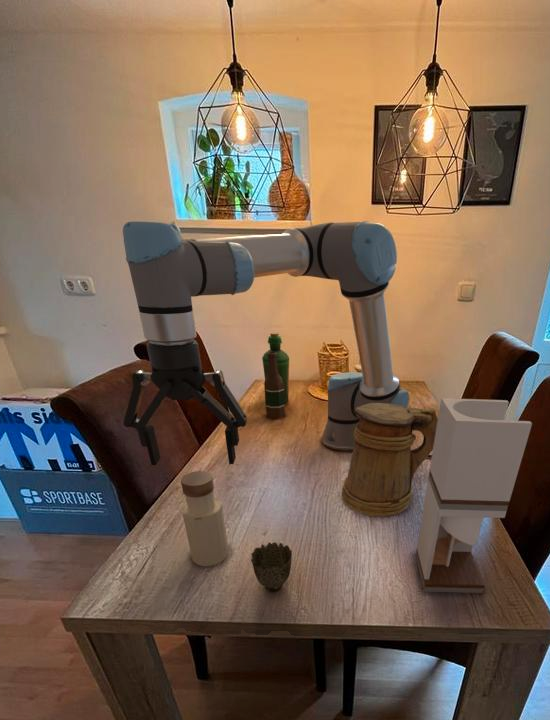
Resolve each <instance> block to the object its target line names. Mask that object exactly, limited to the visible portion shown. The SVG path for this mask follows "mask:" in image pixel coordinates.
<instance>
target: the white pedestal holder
mask: <svg viewBox="0 0 550 720" xmlns="http://www.w3.org/2000/svg"><path fill="white" fill-rule="evenodd" d="M509 403H510V402H509V401H508V400H506V399H504V400H503V399H482V398H481V399H480V398H479V399H478V398H451V397H450V398H449V397H448V398H447V397H441V398H440V403H439V408H438V414H437V415H438V416H437V418H438V421H437V427H436V434H435V440H434V446H433V450H432V451H431V455H432V458H430V465H429V471H428V476H427V484H426V489H425V490H426V491H425V496H424V502H423V508H422V514H421V521H420V526H419V533H418V538H417V546H416V551H415V558H416V561H417V567H418V570H419V575H420V579H421V584H422V588H423V592H425V593H426V592H427V593H428V592H429V593H464V594H465V593H468V594H469V593H471V594H483V593H484V590H485V587H486V584H485V582H484V579H483V577H482V575H481V572H480V570H479V567H478V565H477V563H476V560H475V558H474V556H473V553H472V549H473V546H477V544H478V540H479V537H480V533H481V529H482V525H483V522H484V518H493V519H495V518H496V519H505V518H506V515H507V511H508V507H509V504H510V501H511V498H512V494H513V491H514V487H515V483H516V481H517V477H518V474H519V470H520V467H521V463H522V460H523V457H524V453H525V450H526V446H527V443H528V440H529V436H530V433H531V429H532V425H533V422H531V421H530V420H509V419H508V420H505V419H506V415H507V412H508V407H509Z"/></svg>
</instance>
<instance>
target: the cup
mask: <svg viewBox="0 0 550 720" xmlns="http://www.w3.org/2000/svg"><path fill="white" fill-rule="evenodd" d="M292 560H293V550H292V549H291V548H290V547H289V545H288V544H285V545H283V543H282V542H280V543H279V544H278V543H277V542H275V541H273V542H272V543H271V542H268V543H267V544H266V545H264V544H261V547H255V548H254V550H253V552H251V564H252V568H253V572H254V575H255V579H256V580H257V582H258V583H259V584H260V585H262V587H264V588H265V590H266V591H268V592H271V593H274V592H278V591H280V590H281V589H282V588H283V587H284V584H285V583H286V582H287V581H288V580H289V578H290V575H291V569H292Z"/></svg>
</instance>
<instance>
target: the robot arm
mask: <svg viewBox="0 0 550 720" xmlns="http://www.w3.org/2000/svg"><path fill="white" fill-rule="evenodd" d="M122 237H123V244H124V245H123V246H124V251H125V260H126V263H127V264H128V269H129V272H130V277H131V282H132V286H133V290H134V294H135V299H136V303H137V308H138V313H139V318H140V322H141V328H142V332H143V337H144V339H145V340H147V341H148V342H147V344H146V350H147V355H148V359H149V363H150V367H151V372H149V371H145V370H144V369H141V368H140V369H137V370H136V371H134V373H132V374H131V379H132V386H133V387H132V390H131V393H130V396H129V401H128V404H127V408H126V411H125V415H124V418H123V423H122V424H123V426H124V427H126V428H133V429H134V430H136V431H137V434H138V438H139V441H140V445H141V446H142V447H143V448H145V447H146V448H147V453H148V457H149V460H150V465H151V466H157V465H158V463H159V462H160V460H161V459H162V458H161V457H162V456H161V453H160V450H159V445H158V440H157V437H156V432H155V429H154V424H153V425H149V423H150V421H151V420H152V418H154V415H155V414H156V412H157V411H158V410H159V409H160V407H161V405H162V404H163V402H165V400H166V398H168V399H170V400H171V401H179V400H183V401H191V400H193V399H195V400H196V401H197V402H198V403H199V404H202V405H203V406H204V407H205V408H206V409H207V410H209V412H211V413H212V414H213V416H215V417H216V418H217V419H218V420H219V421H220V422H221V423H222V424H223V425H224V426H226V428H225V429H224V437H225V442H226V443H225V444H226V451H227V457H228V458H227V459H228V464H229V465H234V464H235V461H236V458H237V455H236V447H237V446H238V445H239V443H240V434H239V428H241V427H242V428H243V427H245V426H246V425H247V422H248V416H247V415H246V413H245V412H244V410H243V409H242V407H241V405H240V404H239V402H238V400H237V398H236V397H235V396H234V394H233V392H232V391H231V390H230V388H229V386H228V385H227V383H226V381H225V377H224V373H223V371H222V370H221V369H216V370H215V371H213V372H205V371H204V369H203V367H202V361H201V354H200V353H201V352H200V348H199V342H197V340H195V338H197V336H198V335H197V329H196V322H195V316H194V309H193V301H192V297H201V296H218V295H219V296H220V295H221V296H222V295H231V296H234V295H235V294H241V293H246V292H247V291H249V290H250V289H251V288H252V286H253V284H254V281H255V278H263V277H269V276H275V275H276V276H277V275H283V274H288V275H289V276H290V277H294V278H296V277H297V278H298V277H312V278H319V279H324V280H332V281H338V284H339V288H340V293H341V296H343V297H344V298H345V299H347V300H348V302H349V303H348V304H349V308H350V313H351V314H350V315H351V320H352V325H353V330H354V335H355V341H356V345H357V352H358V357H359V363H360V368H361V372H357V371H350V372H349V371H347V372H341V373H336V374H333V375H331V376H330V377H329V378H328V386H327V421H326V424H325V428H324V429H323V432H322V436H321V441H322V444H323V445H324V447H327V448H328V449H331V450H334V451H339V452H340V451H341V452H353V449H354V444H355V439H354V432H355V428H356V425H357V424H358V423H359V421H360V416H359V415H357V414H356V413H354V410H355V409H356V408H357V407H360V406H363V405H366V404H369V403H387V404H395V405H401V406H405V407H409V402H410V393H409V392H408V390H406V389H405V388H401V385H400V380H399V377H398V376H397V375H396V374H394V371H393V362H392V354H391V345H390V337H389V328H388V319H387V311H386V302H385V294H384V293H385V292H386V291H387V289H389V286H390V281H391V280H392V278H393V277H394V274H395V272H396V269H397V268H396V264H397V262H398V253H397V252H398V251H397V246H396V241H395V238H394V236H393V235H392V233H391V231H390V230H389V228H387V227H386V225H384V224H382V223H379V222H371V221H366V220H365V221H351V222H350V221H348V222H347V221H346V222H344V221H343V222H321V223H317V224H313V225H308V226H302V227H295V228H287V229H285V230H284V231H283V232H282V233H281V234H280V233H279V234H264V235H263V234H262V235H242V236H241V235H240V236H226V237H225V236H223V237H221V236H219V237H203V238H202V237H201V238H190V239H188V238H187V239H186V238H183V236H182V232H181V229H180V228H179V226H178V225H177V224H175V223H168V222H159V221H127V222H126V223H124V225H123V226H122ZM150 381H151V383H153V384H154V385H155V386H156V387H157V389H158V391H157V393H156V395H155V396H154V397H153V399H152V401H151V402H150V403H149V405H148V407H147V408H146V409H145V411H144V413H143V414H142V416H141V417H140V418H138V415H139V412H140V408H141V405H142V401H143V399H144V394H145V391H146V389H147V388H146V387H147V386H148V385H149V384H150ZM206 381H207V382H208V383H209V385H211V386H212V387H214V388H215V390H216V392H217V394H218V395H219V397H220V398H221V400H222V401H223V403H224V405H225V406H226V407H227V409H228V410H227V409H226V408H225V407H224V406H223V405H222V404H221V403H220V402H219V401H218V400H216V398H214V396H212V394H211V393H210V391H209V390H208V389H207V388H206V387H205V386H204V384H205V383H206ZM427 458H430V459H431V458H432V454H429V455H428V457H427Z"/></svg>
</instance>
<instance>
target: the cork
mask: <svg viewBox="0 0 550 720" xmlns="http://www.w3.org/2000/svg"><path fill="white" fill-rule="evenodd" d="M180 484H181V489H182V494H183V495H184V496H185V495H186V496H188V497H202V496H206V495H208V494H210V493H211V492H212V491H213V492H214V489H215V485H214V479H213V474H211V473H210V472H208V471H204V470H202V471H201V470H199V471H198V470H197V471H191V472H188V473H186V474H184V475H183V476H182V477H181V479H180ZM186 496H185V497H186Z"/></svg>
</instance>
